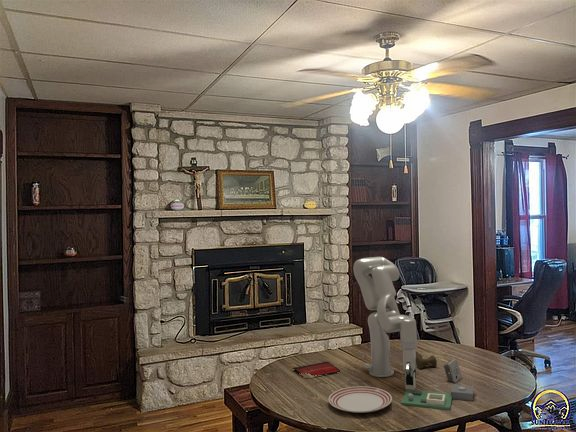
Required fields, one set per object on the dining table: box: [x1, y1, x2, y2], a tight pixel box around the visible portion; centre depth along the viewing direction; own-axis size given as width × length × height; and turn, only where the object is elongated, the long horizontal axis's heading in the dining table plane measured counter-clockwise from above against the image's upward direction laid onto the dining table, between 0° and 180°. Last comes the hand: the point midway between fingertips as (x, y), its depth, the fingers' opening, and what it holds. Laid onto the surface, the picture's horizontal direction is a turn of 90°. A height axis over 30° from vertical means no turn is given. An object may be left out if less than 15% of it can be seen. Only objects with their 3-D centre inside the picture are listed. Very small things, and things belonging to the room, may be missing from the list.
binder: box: [292, 361, 341, 376], centre depth 259 cm, size 16×2×21 cm
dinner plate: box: [328, 385, 393, 414], centre depth 213 cm, size 27×27×3 cm
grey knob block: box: [450, 384, 474, 402], centre depth 217 cm, size 9×9×4 cm
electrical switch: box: [443, 358, 463, 384], centre depth 238 cm, size 9×5×9 cm, turn 141°
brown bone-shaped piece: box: [415, 351, 438, 370], centre depth 261 cm, size 6×10×20 cm
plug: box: [404, 371, 417, 390], centre depth 230 cm, size 4×4×8 cm
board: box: [400, 389, 453, 411], centre depth 214 cm, size 20×16×3 cm
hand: (411, 381), depth 229 cm, fingers open, 9 cm apart
